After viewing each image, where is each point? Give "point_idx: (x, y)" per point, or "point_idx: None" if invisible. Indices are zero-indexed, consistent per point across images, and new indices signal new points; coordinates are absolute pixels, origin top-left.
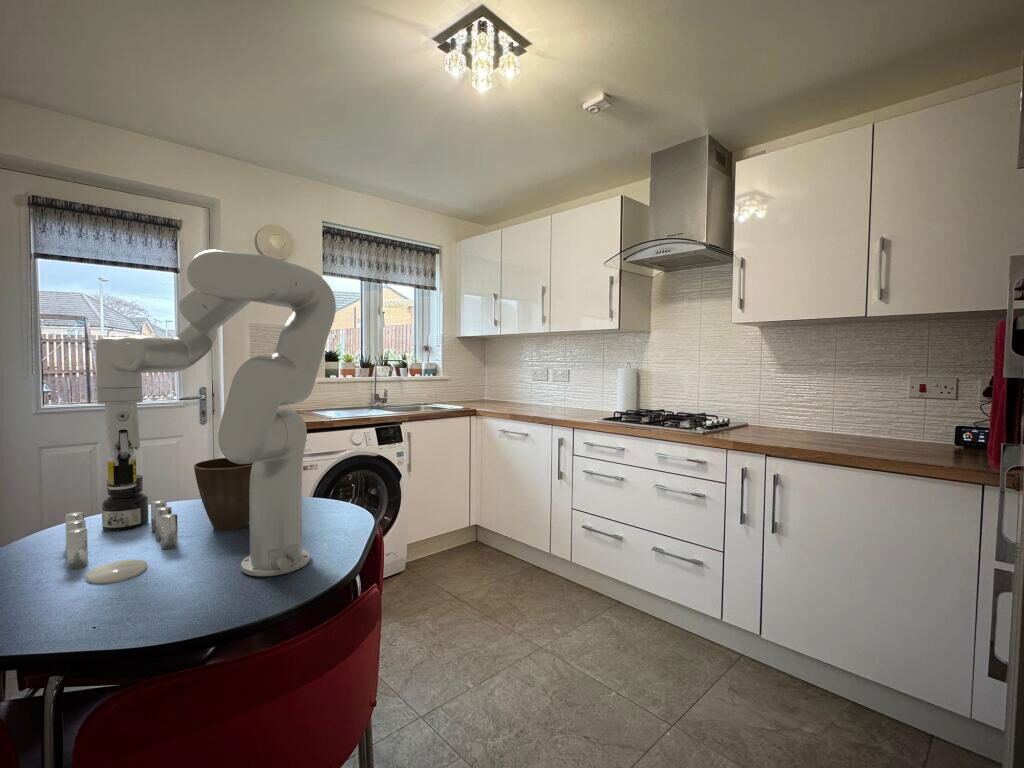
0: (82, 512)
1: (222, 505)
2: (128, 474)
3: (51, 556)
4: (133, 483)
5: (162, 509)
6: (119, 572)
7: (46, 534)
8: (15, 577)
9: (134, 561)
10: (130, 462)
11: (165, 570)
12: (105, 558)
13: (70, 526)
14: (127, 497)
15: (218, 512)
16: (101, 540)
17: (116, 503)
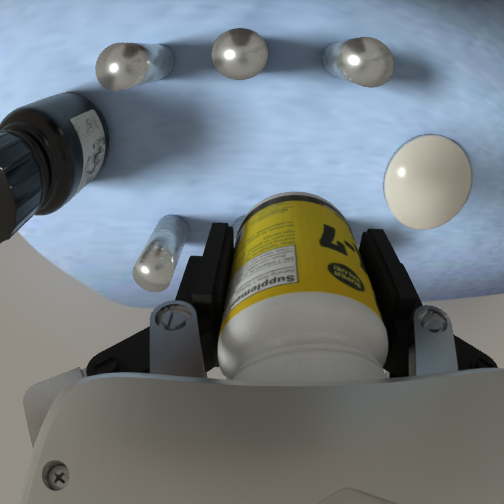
0: (139, 262)
1: None
2: (410, 279)
3: None
4: (341, 215)
5: (250, 59)
6: (451, 186)
7: (68, 265)
8: None
9: (415, 152)
10: (445, 324)
11: (477, 116)
12: (315, 186)
13: None
14: (45, 164)
15: None
16: (157, 184)
17: (65, 186)
